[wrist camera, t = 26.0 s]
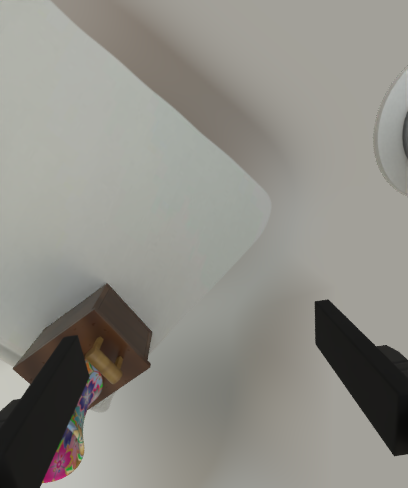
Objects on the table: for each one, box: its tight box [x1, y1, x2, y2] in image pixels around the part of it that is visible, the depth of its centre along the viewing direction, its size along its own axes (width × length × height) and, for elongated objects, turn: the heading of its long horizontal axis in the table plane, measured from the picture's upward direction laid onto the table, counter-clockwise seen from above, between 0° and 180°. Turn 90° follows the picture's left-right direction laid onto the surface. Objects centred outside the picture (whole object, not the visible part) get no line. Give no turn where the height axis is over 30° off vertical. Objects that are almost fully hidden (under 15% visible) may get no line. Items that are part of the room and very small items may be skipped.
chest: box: [17, 284, 152, 364], centre depth 45 cm, size 14×12×9 cm
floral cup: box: [42, 359, 103, 483], centre depth 35 cm, size 12×9×11 cm
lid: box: [13, 307, 151, 409], centre depth 38 cm, size 14×12×5 cm
